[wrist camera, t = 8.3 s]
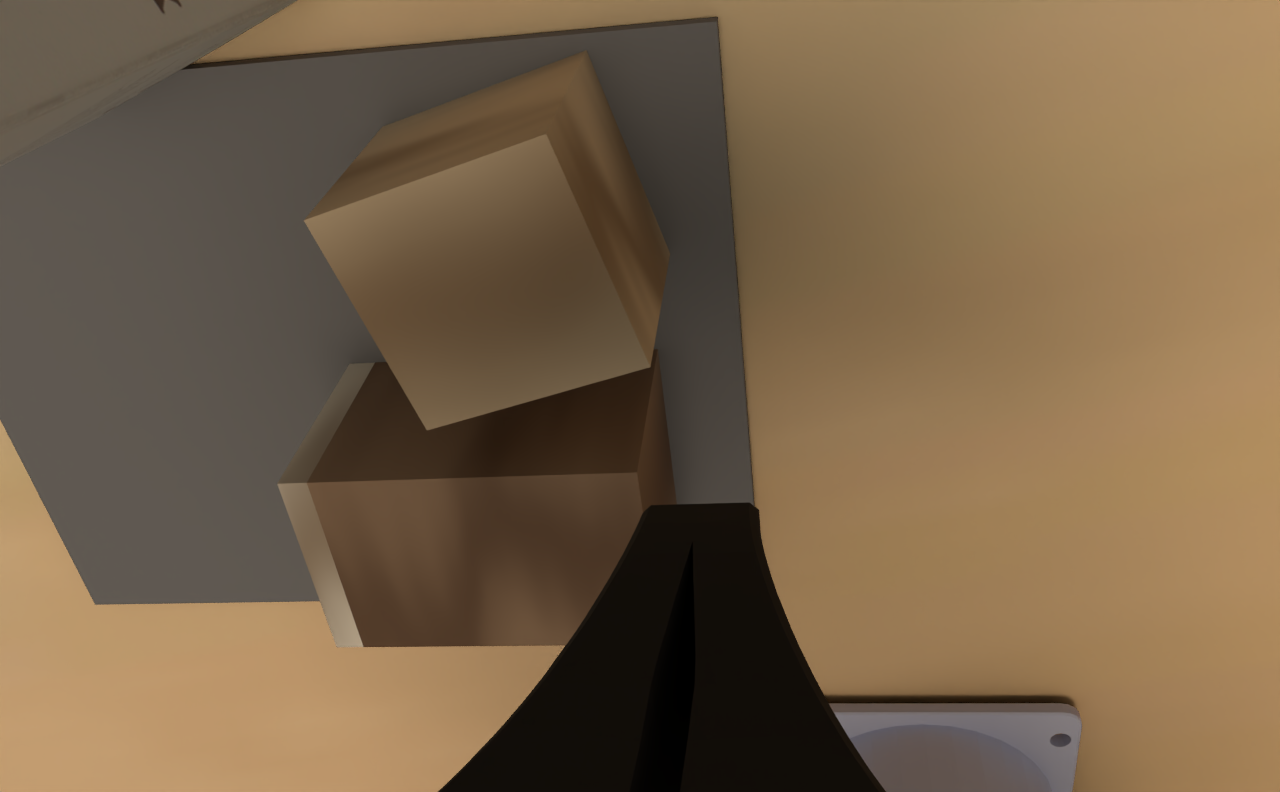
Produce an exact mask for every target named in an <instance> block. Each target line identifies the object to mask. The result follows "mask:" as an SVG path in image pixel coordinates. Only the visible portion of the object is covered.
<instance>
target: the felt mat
mask: <svg viewBox="0 0 1280 792" xmlns="http://www.w3.org/2000/svg"><path fill="white" fill-rule="evenodd" d="M585 50H587V53H588V55H589V58H590V60H591V62H592V65H593V67H594V70H595V72H596V75H597V77H598V79H599V82H600V84H601V87H602V89H603V92H604V94H605V96H606V99H607V101H608V104H609V106H610V109H611V111H612V113H613V116H614V118H615V121H616V123H617V126H618V128H619V130H620V133H621V135H622V138H623V140H624V143H625V145H626V147H627V150H628V152H629V155H630V157H631V160H632V162H633V164H634V167H635V169H636V172H637V174H638V177H639V179H640V181H641V184H642V186H643V189H644V191H645V194H646V196H647V198H648V201H649V203H650V206H651V208H652V211H653V213H654V215H655V218H656V220H657V223H658V225H659V228H660V230H661V232H662V235H663V237H664V240H665V242H666V245H667V247H668V249H669V252H670V258H669V264H668V269H667V275H666V281H665V287H664V292H663V298H662V304H661V310H660V315H659V321H658V327H657V332H656V338H655V344H654V349H658V355H659V363H660V371H661V379H662V387H663V395H664V404H665V412H666V420H667V428H668V436H669V444H670V452H671V461H672V469H673V477H674V485H675V493H676V501H677V504H709V503H746V502H749V503H751V504H752V505H753V506H754V493H753V480H752V467H751V453H750V440H749V427H748V414H747V400H746V387H745V374H744V361H743V347H742V334H741V321H740V308H739V294H738V281H737V268H736V255H735V241H734V228H733V215H732V202H731V189H730V175H729V162H728V149H727V136H726V122H725V109H724V96H723V83H722V69H721V56H720V43H719V30H718V17H712V18H701V19H690V20H679V21H668V22H657V23H646V24H635V25H624V26H613V27H602V28H591V29H580V30H569V31H558V32H547V33H536V34H525V35H514V36H503V37H492V38H481V39H470V40H459V41H448V42H437V43H426V44H415V45H404V46H393V47H382V48H371V49H360V50H349V51H338V52H327V53H316V54H305V55H294V56H283V57H272V58H261V59H250V60H239V61H228V62H217V63H206V64H195V65H188V66H186V67H184V68H182V69H181V70H179V71H177V72H176V73H174V74H172V75H170V76H169V77H167V78H165V79H164V80H162V81H160V82H158V83H157V84H155V85H153V86H152V87H150V88H148V89H146V90H145V91H143V92H141V93H140V94H138V95H136V96H135V97H133V98H131V99H129V100H128V101H126V102H124V103H123V104H121V105H119V106H117V107H116V108H114V109H112V110H111V111H109V112H107V113H106V114H104V115H102V116H100V117H98V118H96V119H94V120H92V121H90V122H88V123H86V124H85V125H83V126H81V127H79V128H77V129H75V130H73V131H71V132H69V133H67V134H65V135H63V136H60V137H58V138H56V139H54V140H52V141H50V142H48V143H46V144H44V145H42V146H40V147H38V148H36V149H34V150H32V151H30V152H28V153H26V154H24V155H22V156H20V157H18V158H16V159H14V160H12V161H10V162H8V163H6V164H4V165H2V166H0V420H1V422H2V424H3V426H4V428H5V430H6V432H7V434H8V435H9V437H10V439H11V441H12V443H13V445H14V447H15V449H16V451H17V453H18V455H19V457H20V459H21V461H22V463H23V465H24V467H25V469H26V471H27V472H28V474H29V476H30V478H31V480H32V482H33V484H34V486H35V488H36V490H37V492H38V494H39V496H40V498H41V500H42V502H43V504H44V506H45V508H46V510H47V511H48V513H49V515H50V517H51V519H52V521H53V523H54V525H55V527H56V529H57V531H58V533H59V535H60V537H61V539H62V541H63V543H64V545H65V547H66V548H67V550H68V552H69V554H70V556H71V558H72V560H73V562H74V564H75V566H76V568H77V570H78V572H79V574H80V576H81V578H82V580H83V582H84V584H85V586H86V587H87V589H88V591H89V593H90V595H91V597H92V599H93V601H94V603H95V605H97V604H163V603H229V602H296V601H320V600H319V597H318V594H317V592H316V589H315V586H314V583H313V581H312V578H311V575H310V572H309V570H308V567H307V564H306V561H305V559H304V556H303V553H302V550H301V548H300V545H299V542H298V540H297V537H296V534H295V531H294V529H293V526H292V523H291V520H290V518H289V515H288V512H287V509H286V507H285V504H284V501H283V498H282V496H281V493H280V490H279V487H278V485H277V483H278V482H279V480H280V478H281V477H282V475H283V473H284V472H285V470H286V468H287V467H288V465H289V463H290V462H291V460H292V458H293V457H294V455H295V453H296V452H297V450H298V448H299V447H300V445H301V443H302V442H303V440H304V438H305V437H306V435H307V433H308V432H309V430H310V429H311V427H312V425H313V424H314V422H315V420H316V419H317V417H318V415H319V414H320V412H321V410H322V409H323V407H324V405H325V404H326V402H327V400H328V399H329V397H330V395H331V394H332V392H333V390H334V389H335V387H336V385H337V384H338V382H339V380H340V379H341V377H342V375H343V374H344V372H345V370H346V369H347V367H348V365H349V364H355V363H376V362H386V360H385V358H384V356H383V355H382V353H381V351H380V350H379V348H378V346H377V345H376V343H375V341H374V339H373V338H372V336H371V334H370V333H369V331H368V329H367V328H366V326H365V324H364V322H363V321H362V319H361V317H360V316H359V314H358V312H357V310H356V309H355V307H354V305H353V304H352V302H351V300H350V299H349V297H348V295H347V293H346V292H345V290H344V288H343V287H342V285H341V283H340V281H339V280H338V278H337V276H336V275H335V273H334V271H333V270H332V268H331V266H330V264H329V263H328V261H327V259H326V258H325V256H324V254H323V253H322V251H321V249H320V247H319V246H318V244H317V242H316V241H315V239H314V237H313V235H312V234H311V232H310V230H309V229H308V227H307V225H306V224H305V222H304V220H305V218H306V217H307V216H308V215H309V214H310V212H311V211H312V210H313V209H314V208H315V206H316V205H317V204H318V203H319V202H320V200H321V199H322V198H323V197H324V196H325V194H326V193H327V192H328V191H329V190H330V189H331V187H332V186H333V185H334V184H335V183H336V181H337V180H338V179H339V178H340V177H341V175H342V174H343V173H344V172H345V171H346V169H347V168H348V167H349V166H350V165H351V163H352V162H353V161H354V160H355V159H356V157H357V156H358V155H359V154H360V153H361V152H362V150H363V149H364V148H365V147H366V146H367V144H368V143H369V142H370V141H371V140H372V138H373V137H374V136H375V135H376V134H377V132H378V131H379V130H380V129H381V128H382V127H383V126H386V125H388V124H391V123H394V122H396V121H399V120H402V119H404V118H407V117H410V116H412V115H415V114H418V113H420V112H423V111H426V110H428V109H431V108H434V107H436V106H439V105H442V104H444V103H447V102H450V101H452V100H455V99H458V98H460V97H463V96H466V95H468V94H471V93H474V92H476V91H479V90H482V89H484V88H487V87H490V86H492V85H495V84H498V83H500V82H503V81H505V80H508V79H511V78H513V77H516V76H519V75H521V74H524V73H527V72H529V71H532V70H535V69H537V68H540V67H543V66H545V65H548V64H551V63H553V62H556V61H559V60H561V59H564V58H567V57H569V56H572V55H575V54H577V53H580V52H583V51H585Z"/></svg>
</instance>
